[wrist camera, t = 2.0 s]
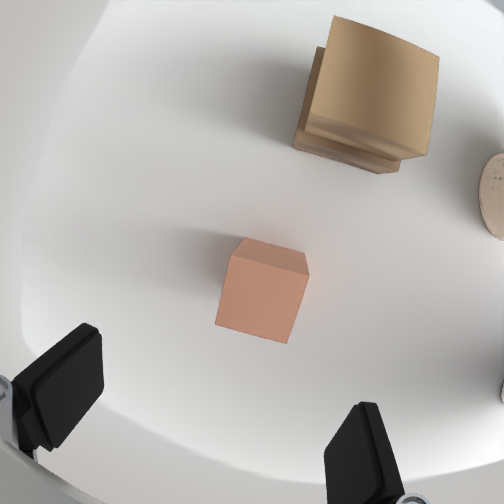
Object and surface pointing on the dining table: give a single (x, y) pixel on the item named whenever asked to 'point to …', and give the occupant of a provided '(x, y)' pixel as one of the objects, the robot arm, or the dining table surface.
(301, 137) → the tower base
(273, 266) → the terracotta block
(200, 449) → the dining table surface
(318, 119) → the block
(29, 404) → the robot arm
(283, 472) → the dining table surface
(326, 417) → the dining table surface
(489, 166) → the teacup with lid
